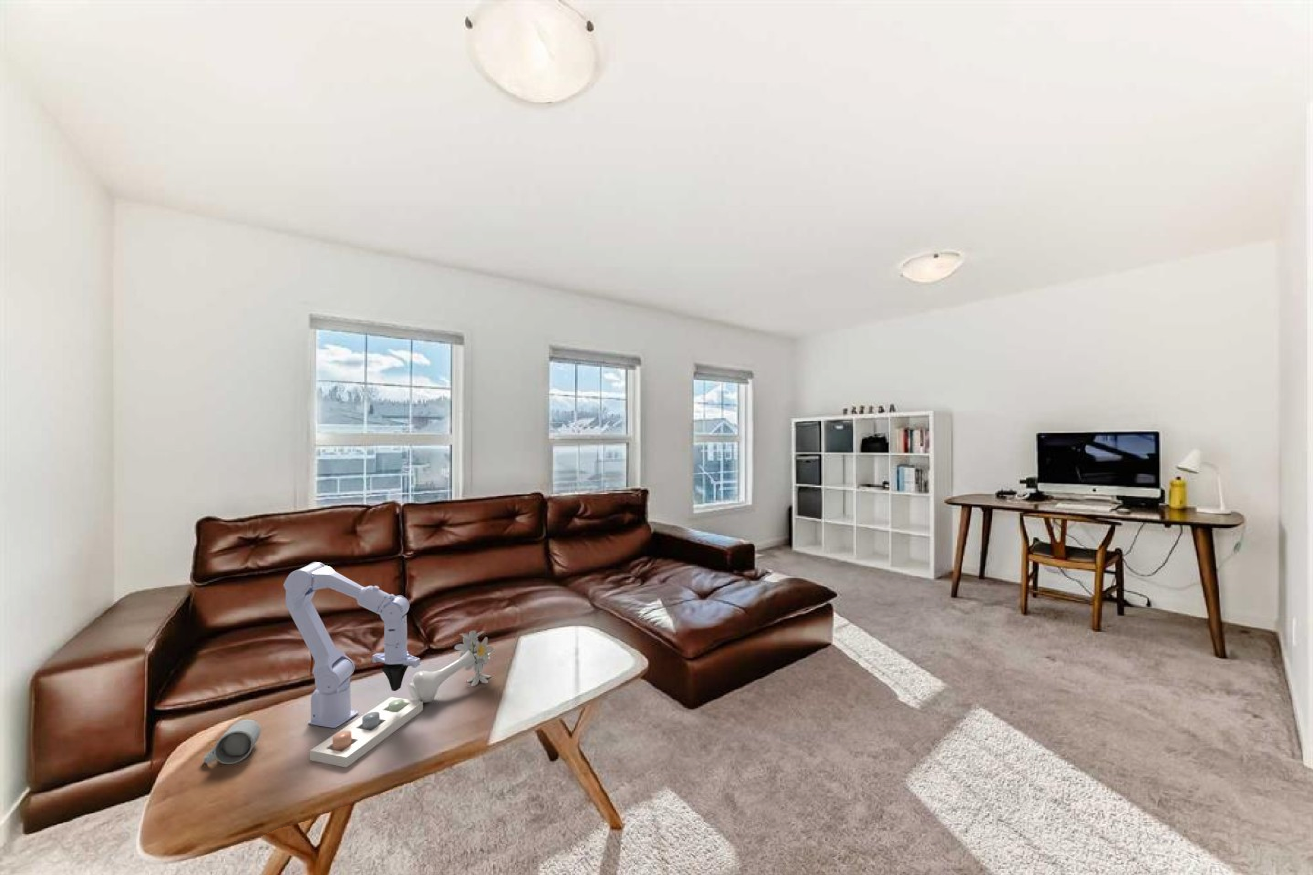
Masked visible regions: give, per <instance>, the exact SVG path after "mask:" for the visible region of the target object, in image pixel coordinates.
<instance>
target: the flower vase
mask: <svg viewBox="0 0 1313 875" xmlns="http://www.w3.org/2000/svg"><path fill="white" fill-rule="evenodd" d="M484 633H485V630H482V631H479V632H477V631H476V630H470V631H469V633H459V635H460V636H462V643H458V644H456V645H454V650H456V651H460V655H459V658H458V659H456V660H455V661H453V662H451V663H450V664H448V665H446V666H444V667H443V668H441V669H438V670H434V671H430V670H429V671H428V670H420V671H417V672H415V673H414V674H413V676H412V677H411V682H409V683H408V684H407V690H408V692H409V695H410V697H411V698H412V699H411V700H414V701H421V702H423V704H424V703H425V704H427V703H430V702H431V701H433V700H434V698H435V697H436V695H437V693H438V690H439V689H440V687H441V685H442V684H443V683H444V682H445V681H447V679H448V678H450V677H451V676H453V675H454V674H456V673H457V672H459V671H460V670H461V669H464V670H465V671H469V670H471V669H473V670H474V673H475V675H473V676H472V677H470V678H469V679H467V680H466V681H467V683H470V686H471V687H475V686H477V685H478V684H479V682H481V683H482V684H489V680H488V679H489V678H491V677H492V676H491V675H488V674H484V673H481V672H482V671H483V667H484V665H487V664H489V662H490V661H489V660H490V659H491V657H490V654H491V653H492V652H493V651H494V647H493V646H491V645H490V646H489V645H488V637H487V636H485V637H484V639H483V640H482V641H481V642H480V641H479V638H478V637H479V636H481V635H482V634H484Z"/></svg>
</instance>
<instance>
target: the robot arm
mask: <svg viewBox="0 0 1313 875" xmlns="http://www.w3.org/2000/svg"><path fill="white" fill-rule="evenodd" d="M283 588H284V589H285V606H286V607H285V608H286V609H287V610H288V612H289V615H290V616H291V618H292V620H293V622H294V624H295V625H296V628H297V629H298V631H299V633H300V636H301V637H302V639H303V641H304V643H305V645H306V647H307V649H308V651H309V653H310V655H311V657H312V658H313V660H314V665H313V669H312V674H313V677H314V686H315V688H316V689H315V690H314V691H313V692H312V695H311V698H310V720H309V721H307V724H308V725H313V726H314V725H315V726H320V727H324V728H330V729H336V728H339V726H342V725H343V724H344V723H346V722H347V721H349V720H350V719H352V718H353V717H355V716H357V715H358V714H359V711H357V710H352V703H351V701H352V699H351V698H352V697H351V696H352V695H351V692H352V691H351V690H352V689H351V688H352V687H351V676H352V675H353V673H354V671H355V663H354V661H353V660H352V659H351V658H349V656H347V655H346V653H345V651H343V650H341V649H338V648H336V645H335V643H334V642H333V640H332V637H331V635H330V634H329V632H328V630H327V628H326V627H325V624H324V623H323V620H322V619H321V617H320V615H319V612H318V611H317V609H316V607H315V605H314V603H313V601H312V599H313V597H314V596H315V593H316V591H317V590H322V589H330V590H334V591H336V592H338V593H342V594H344V595H346V596H348V597H351V598H354V599H356V602H357V605H358V606H360V607H363V608H364V609H367V610H368V611H371V612H373V613H375V614H377V615H379V616H380V619H381V620H382V621H383V623H384V627H383V631H384V632H383V633H384V634H383V635H384V636H383V637H384V638H383V640H384V642H383V643H384V646H383V647H384V652H376V653H375V654H373V655H372V656H371V659H372V660H371V662H372V663H377V662H378V663H383V664H385V665H384V666H383V667H382V670H381V671H382V672H383V673H384V674H385V676H386V678H387V679H388V680H387V681H388V682H389V683H388V684H389V686H390V690H391V691H392V692H397V691H398V690H400V689H401V688H402V685H403V684H402V683H403V680H404V676H405V673H406V671H407V669H408V668H409V667H411V668H413V669H414V668H417V667H419V666H420V665H421V658H420V657H416V656H413V655H412V654H409V651H408V623H407V621H408V620H407V616H408V615H407V613H408V612H409V609H410V607H411V606H410V602H409V600H408V599H407V598H406V597H404V595H395V594H393V593H391V594H389V593H388V592H386V591H383V590H382V589H380V587H379V586H378V585H374V586H373V585H368V586H362V585H360V584H359V583H358V582H356V581H353V580H351V579H349V578H348V577H346V576H345V575H342V574H340V573H339V572H337V571H335V569H333V567H331V566H328V565H325V564H324V563H323V562H317V561H313V562H311V563H309V564H308V565H306V566H304V567H301V568H299V569H296V570H294V571H292V572H290V573H289V574H288V576H287V577H286V579H285V580H284V583H283Z"/></svg>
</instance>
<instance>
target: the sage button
mask: <svg viewBox="0 0 1313 875" xmlns="http://www.w3.org/2000/svg"><path fill="white" fill-rule="evenodd" d="M403 699H404V698H401V699H397V700H393V701H391V702H390V703H389V705H388V706H389V711H392V712H398V711H400V710H401V709H403V708H404V700H403Z"/></svg>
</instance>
